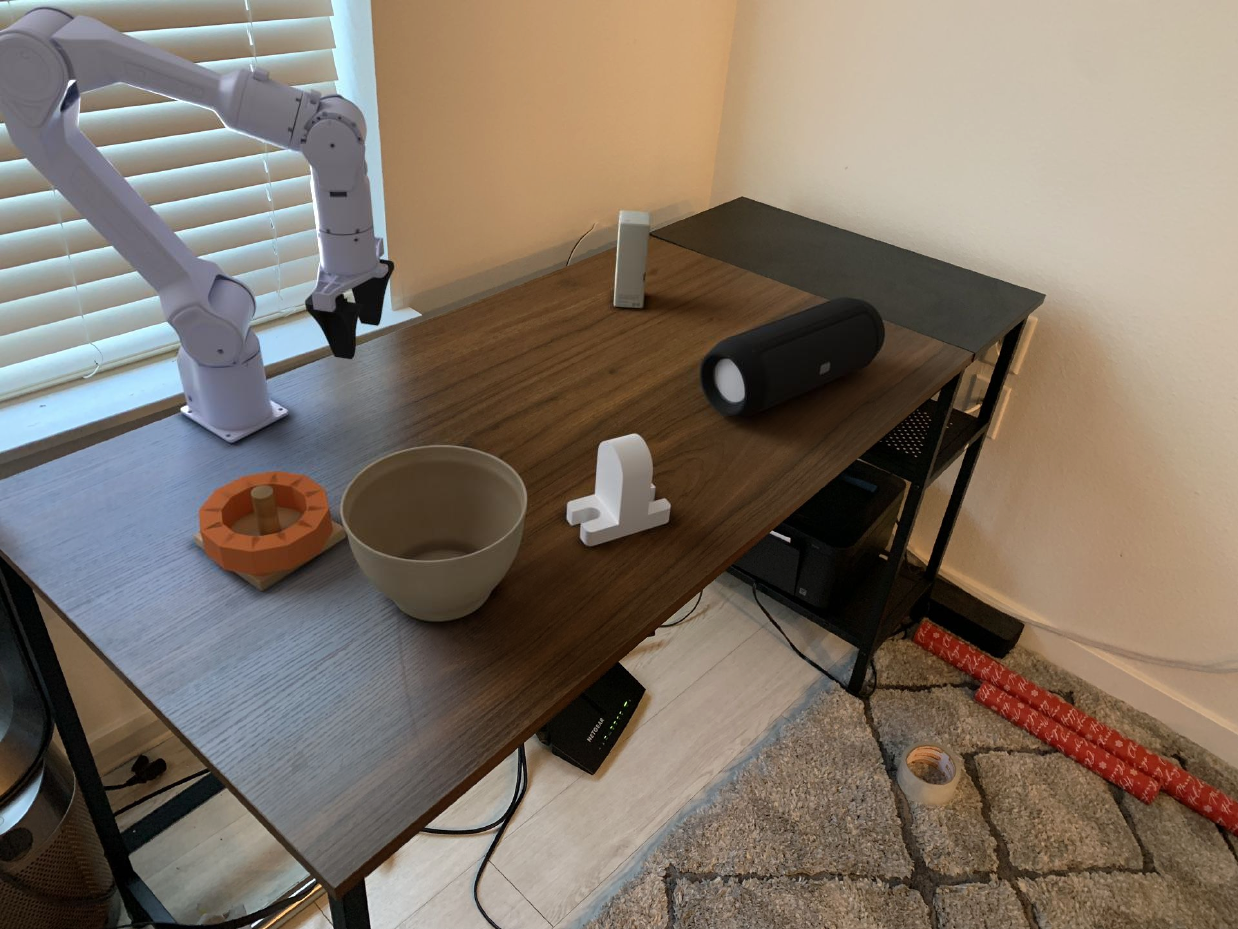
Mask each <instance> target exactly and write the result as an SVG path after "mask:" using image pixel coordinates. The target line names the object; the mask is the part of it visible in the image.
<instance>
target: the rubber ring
mask: <svg viewBox="0 0 1238 929" xmlns="http://www.w3.org/2000/svg"><path fill="white" fill-rule="evenodd" d="M262 485H266V486H270V487H271V488H272V489H273V492H274V497H275V502H276V507H283V508H289V509H296V510H297V511H299V512H300V513H302V514H303V516H302V517H301V519H300V520H299V522H298V523H296V524H294V525H292V526H291V527H289V528H287V529H285V530H283V531H282V532H280V533H275V534H270V535H264V536H258V537H254V536H248V535H241V534H235V533H234V532H233V531H232V530H230V529H231V527H232V526H233V525H234V523H235V522H236V521H237V520H238V519H239V518H241V517H243V516H245V515H247V514H249V513H251V512H253V511H254V506H253V502H252V497H251V491H252V490H253V489H254V488H256V487H258V486H262ZM329 504H330V503H329V500H328V496H327V491H326V488H325V487H323V486H322V485H321V484H319V483H317V482H316V481H314V480H313V479H312V478H310V477H309V476H308V475H306V474H305V475H304V474H299V473H292V472H287V471H286V472H285V471H279V470H273V471H267V472H261V473H260V472H259V473H256V474H255V473H254V474H248V475H247V474H246V475H243V476H240V477H239V478H237V479H235V480H232V481H230V482H229V483H227V484H225V485H222V486H221V487H218V488H217V489H215V490H214V491H213V492H212V493H211V494H210V496H209V497H208V498H207V499H206V501H205V502H204V503H203V504H202V506H201V507H200V508H199V509H198V519H199V522H198V523H199V532H200V533H201V537H202V540H203V544H204V548H205V550H204V552H205V555H206V556H207V557H209V558H210V559H211V560H213V562H215V563H216V564H217V565H218V566H219V567H221V568H222V569H223V570H225V571H228V572H233V573H235V572H240V573H246V574H252V575H262V574H267V573H273V572H278V571H283V570H288V569H293V568H295V567H296V566H298V565H300V564H301V563H303V562H305V561H306V560H308V559H310V558H311V557H313V556H315V555H316V554H318V553H320V551H321V550H322V548H323V546H324V545H325V543H326V542H327V540H328V538H329V537H330V535H331V533H332V532H333V529H332V522H331V520H332V517H331V510H330V505H329Z"/></svg>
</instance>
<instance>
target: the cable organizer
mask: <svg viewBox="0 0 1238 929" xmlns="http://www.w3.org/2000/svg"><path fill="white" fill-rule="evenodd" d="M596 459H597V460H596V472H595V485H594V493H593V494H591V495H587V496H584V497H580V498H576V499H573V500H569V501H568V502H567V503H566V520H567V522H568V523H569V525H570V526H571V527H572V526H573V527H574V526H576V525H579V524H580V532H579V539H580V540H581V541H582V542H583V544H584V545H585V546H587V547H594V546H597V545H599V544H600V545H601V544H604V543H606V542H611V541H613V540H616V539H620V538H622V537H623V538H624V537H626V536H630V535H632V534H636V533H639V532H643V531H646V530H648V529H653V528H655V527H659V526H662V525H664V524H665V525H666V524H667V523H669V520H670V513H671V503H670V501H668V500H667V498H661V499H657V500H655V495H656V486H655V485H654V483H652V482H653V473H654V466H653V458H652V455H651V452H650V449H649V447H648V445H647V443H646V441H645V440H644V438H643V437H642V436H641V435H640V434H638V433H630V434H627V435H623V436H619V437H615V438H611V439H607V440H603V441H601V442H600V443H599V445H598V448H597V458H596Z"/></svg>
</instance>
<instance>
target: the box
mask: <svg viewBox="0 0 1238 929" xmlns="http://www.w3.org/2000/svg"><path fill="white" fill-rule="evenodd" d="M650 231H651V213H650V212H648V211H637V210H625V209H622V210H620V211H619V220H618V232H617V244H616V245H617V246H616V259H615V261H616V262H615V275H614V293H613V294H614V295H613V307H618V308H628V309H629V308H630V309H631V308H632V309H642V308H644V300H645V288H646V277H647V263H648V255H649V254H648V253H649V242H650Z"/></svg>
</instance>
